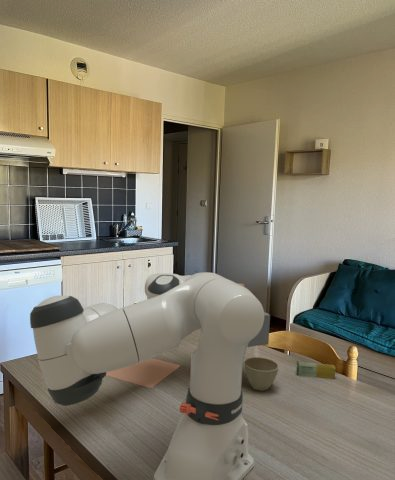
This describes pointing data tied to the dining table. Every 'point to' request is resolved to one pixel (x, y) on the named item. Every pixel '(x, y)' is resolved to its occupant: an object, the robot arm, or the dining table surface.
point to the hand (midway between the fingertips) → (241, 294)
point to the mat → (145, 372)
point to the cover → (261, 331)
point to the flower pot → (261, 372)
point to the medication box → (315, 370)
